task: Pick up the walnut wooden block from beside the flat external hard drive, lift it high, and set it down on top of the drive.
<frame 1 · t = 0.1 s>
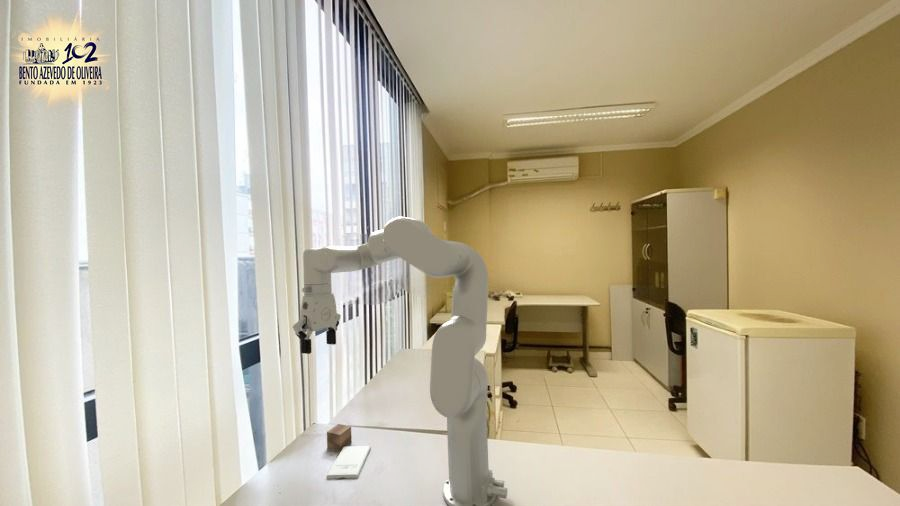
hand: (319, 348, 93), 31 cm above the table, tool pointing down, fingers open, 9 cm apart
external hard drive: (350, 465, 88), on the table
walnut block: (339, 445, 97), on the table
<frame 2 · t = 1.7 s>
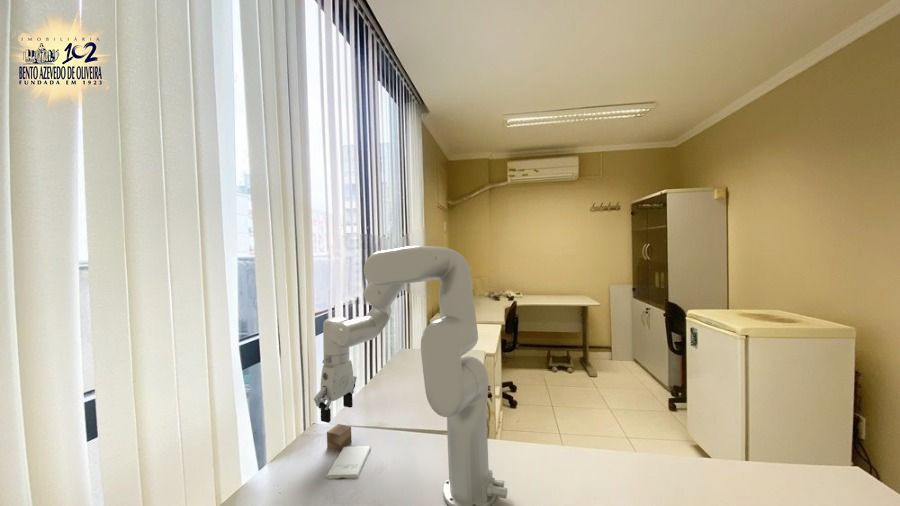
hand: (337, 413, 97), 9 cm above the table, tool pointing down, fingers open, 9 cm apart
nothing on the table moved.
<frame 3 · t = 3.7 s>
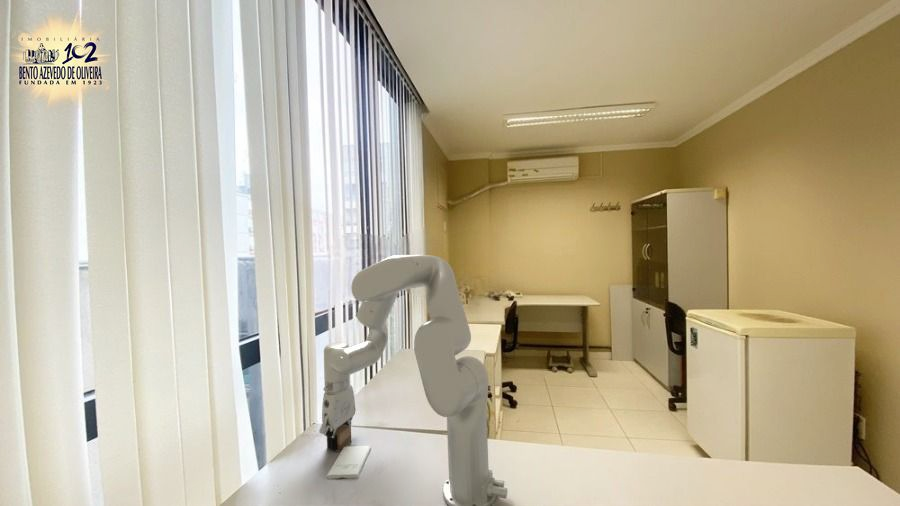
hand: (339, 443, 97), 0 cm above the table, tool pointing down, fingers closed on walnut block, 5 cm apart
walnut block: (339, 445, 97), on the table, touching gripper
everything else where it was.
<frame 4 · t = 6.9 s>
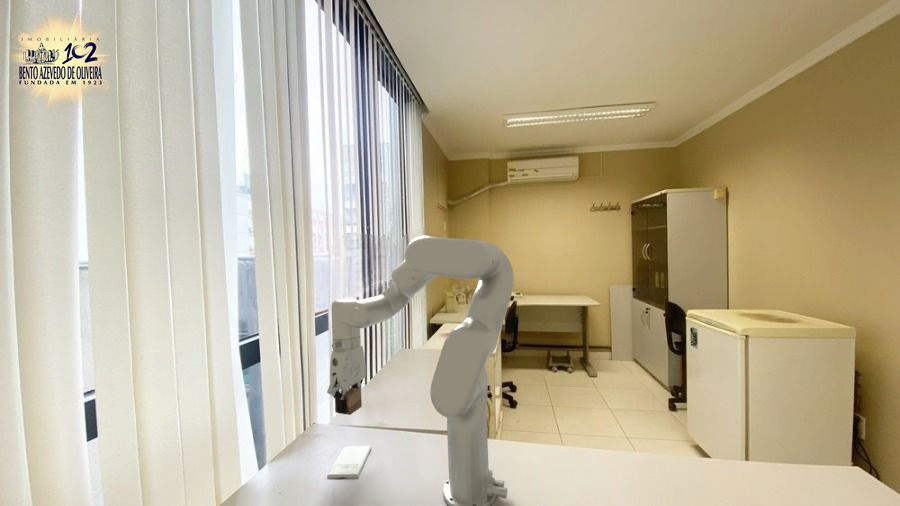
hand: (348, 407, 88), 15 cm above the table, tool pointing down, fingers closed on walnut block, 5 cm apart
walnut block: (348, 409, 88), point 15 cm above the table, touching gripper
everything else where it was.
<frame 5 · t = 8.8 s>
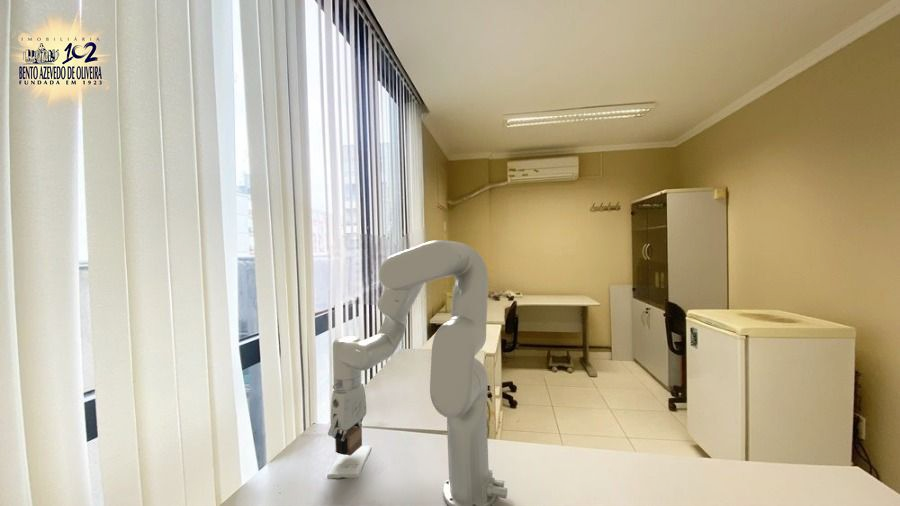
hand: (349, 446, 88), 4 cm above the table, tool pointing down, fingers closed on walnut block, 5 cm apart
walnut block: (349, 448, 88), point 4 cm above the table, touching gripper
everything else where it was.
when the fingers open (2 cm above the table, at t = 10.1 s): walnut block drops 1 cm, point 1 cm above the table.
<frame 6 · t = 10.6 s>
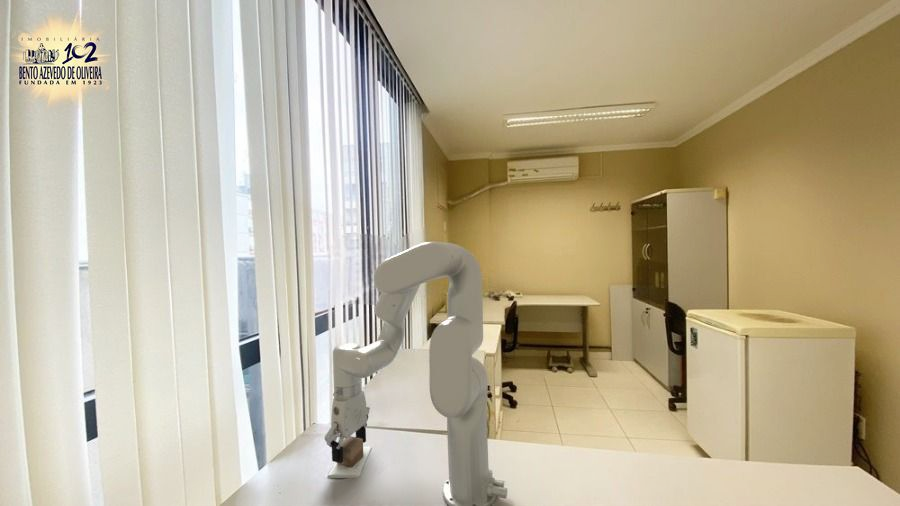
hand: (349, 451, 88), 3 cm above the table, tool pointing down, fingers open, 9 cm apart
walnut block: (350, 460, 88), point 1 cm above the table
everything else where it was.
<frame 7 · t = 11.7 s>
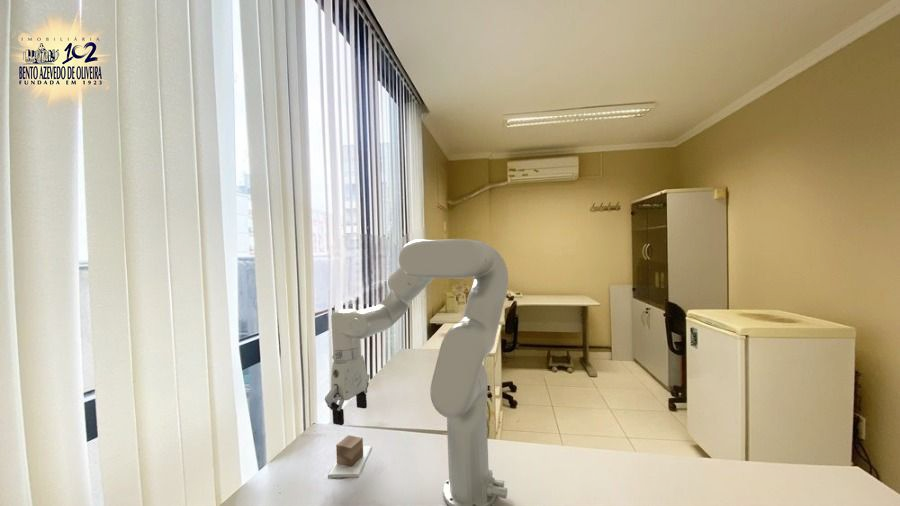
hand: (350, 415, 88), 13 cm above the table, tool pointing down, fingers open, 9 cm apart
external hard drive: (351, 465, 88), on the table, touching walnut block
walnut block: (350, 459, 88), point 1 cm above the table, touching external hard drive
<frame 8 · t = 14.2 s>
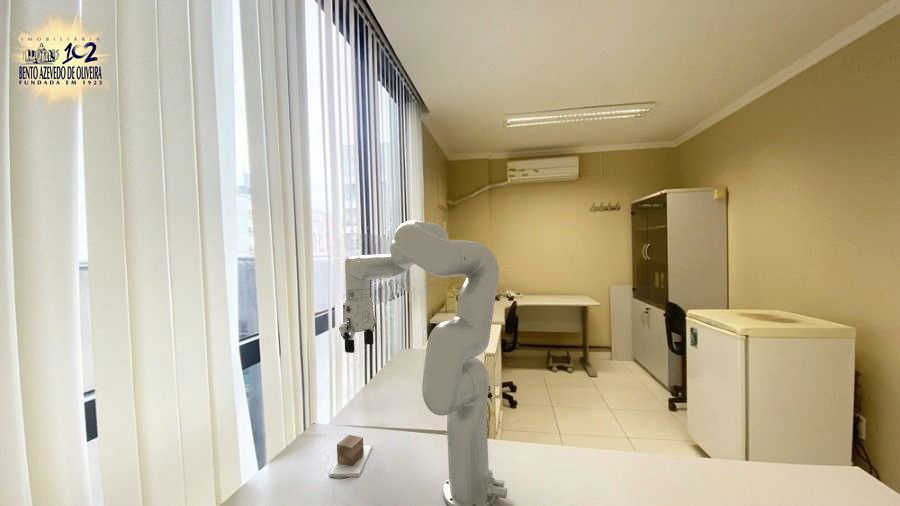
hand: (359, 348, 102), 28 cm above the table, tool pointing down, fingers open, 9 cm apart
nothing on the table moved.
at the end: walnut block 0.4 cm from the external hard drive (horizontally); walnut block touching external hard drive; the gripper is holding nothing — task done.
